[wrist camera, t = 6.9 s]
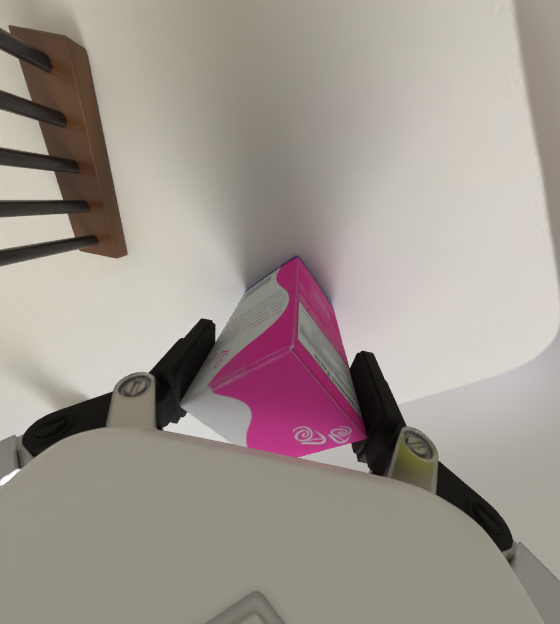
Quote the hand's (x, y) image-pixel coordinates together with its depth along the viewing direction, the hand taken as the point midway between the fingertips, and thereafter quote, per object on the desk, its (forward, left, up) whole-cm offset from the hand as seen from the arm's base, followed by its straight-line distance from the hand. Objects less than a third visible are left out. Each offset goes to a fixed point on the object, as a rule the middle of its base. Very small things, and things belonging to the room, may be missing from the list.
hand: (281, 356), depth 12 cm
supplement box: (0, 0, -8) cm, 8 cm away
